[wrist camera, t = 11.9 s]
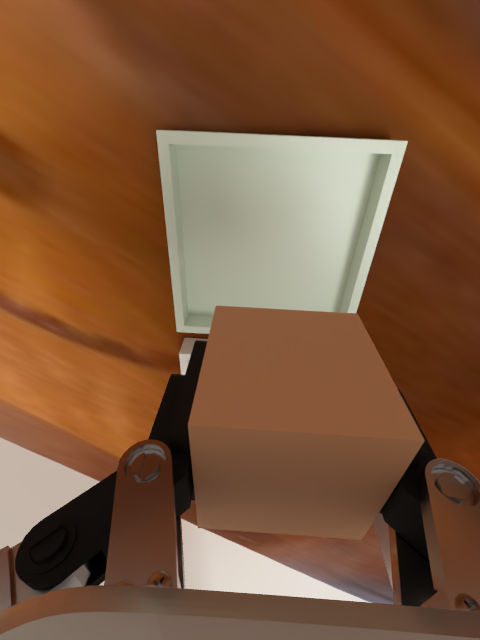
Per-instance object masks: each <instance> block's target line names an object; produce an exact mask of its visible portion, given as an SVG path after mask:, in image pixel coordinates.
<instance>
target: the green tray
mask: <svg viewBox="0 0 480 640" xmlns="http://www.w3.org/2000/svg"><path fill="white" fill-rule="evenodd" d="M156 135H157V144H158V154H159V164H160V174H161V183H162V193H163V203H164V212H165V222H166V232H167V242H168V251H169V261H170V271H171V281H172V290H173V300H174V310H175V320H176V329H177V332H186V333H203V334H209V332H210V328H211V324H212V320H213V315H214V311H215V307H216V306H234V307H251V308H269V309H286V310H304V311H321V312H339V313H356V312H357V308H358V305H359V302H360V299H361V295H362V292H363V289H364V285H365V282H366V279H367V275H368V272H369V269H370V265H371V262H372V259H373V255H374V252H375V249H376V245H377V242H378V239H379V236H380V232H381V229H382V226H383V222H384V219H385V216H386V212H387V209H388V206H389V202H390V199H391V196H392V192H393V189H394V186H395V182H396V179H397V176H398V173H399V169H400V166H401V163H402V159H403V156H404V153H405V149H406V146H407V143H408V141H401V140H390V139H367V138H344V137H321V136H298V135H276V134H253V133H230V132H207V131H184V130H156Z"/></svg>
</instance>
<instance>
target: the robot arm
mask: <svg viewBox="0 0 480 640" xmlns="http://www.w3.org/2000/svg"><path fill="white" fill-rule="evenodd" d="M206 345H207V341H199V340H196V341H195V343H194V346H193V350H192V353H191V356H190V360H189V363H188V367H187V370H186V374H185V375H180V374H172V375H171V376H170V379H169V381H168V384H167V387H166V390H165V393H164V396H163V399H162V402H161V404H160V407H159V410H158V413H157V416H156V419H155V422H154V425H153V427H152V430H151V433H150V436H149V439H148V440H144V441H141V442H138V443H136V444H134V445H133V446H131V447H130V448H129V449H128V450H127V451H126V452H125V453H124V454H123V456H122V457H121V459H120V461H119V465H118V469H117V471H116V472H114V473H113V474H111V475H110V476H108V477H107V478H105V479H104V480H102V481H101V482H99V483H98V484H96V485H95V486H93V487H92V488H90V489H89V490H87V491H86V492H84V493H82V494H81V495H79V496H78V497H76V498H75V499H73V500H72V501H70V502H69V503H67V504H66V505H64V506H63V507H61V508H60V509H58V510H57V511H55V512H54V513H52V514H50V515H49V516H47V517H46V518H44V519H43V520H42V521H40V522H39V523H38V524H37V525H35V526H34V527H33V528H32V529H31V530H30V532H29V533H28V534H27V535H26V536H25V538H24V539H23V541H22V542H21V543H19V544H17V545H15V546H14V547H12V548H10V547H9V546H6V547H4V548H3V549H1V550H0V640H480V483H479V481H478V480H477V479H476V478H475V477H474V476H473V475H472V474H471V473H470V472H469V471H468V470H467V469H465V468H463V467H462V466H460V465H459V464H457V463H454V462H452V461H449V460H445V459H437V458H436V456H435V454H434V452H433V450H432V449H431V447H430V445H429V443H428V441H427V439H426V437H425V436H424V434H423V432H422V430H421V428H420V426H419V424H418V423H417V421H416V419H415V417H414V415H413V413H412V411H411V410H410V408H409V406H408V404H407V402H406V400H405V398H404V396H403V395H402V393H401V392H400V390H399V389H398V391H399V393H400V395H401V397H402V398H403V400H404V402H405V404H406V406H407V408H408V410H409V412H410V414H411V415H412V417H413V419H414V421H415V423H416V425H417V427H418V429H419V431H420V432H421V434H422V436H423V438H424V440H425V441H424V443H423V444H422V446H421V448H420V449H419V451H418V452H417V454H416V455H415V457H414V459H413V460H412V462H411V463H410V465H409V466H408V468H407V470H406V471H405V473H404V474H403V476H402V477H401V479H400V481H399V482H398V484H397V485H396V487H395V488H394V490H393V492H392V493H391V495H390V496H389V498H388V499H387V501H386V503H385V504H384V506H383V507H382V509H381V510H380V512H379V513H378V515H377V517H376V518H375V520H374V521H373V524H374V527H375V531H376V534H377V538H378V541H379V545H380V548H381V551H382V555H383V558H384V562H385V565H386V569H387V572H388V576H389V579H390V582H391V586H392V589H393V599H394V605H391V604H379V603H366V602H353V601H340V600H328V599H327V600H326V599H314V598H302V597H289V596H276V595H263V594H248V593H235V592H220V591H208V590H207V591H206V590H194V589H185V577H184V561H183V546H182V545H183V544H182V527H181V515H182V514H183V513H184V512H185V511H186V510H187V509H189V508H190V504H191V500H195V492H194V482H193V472H192V462H191V452H190V442H189V432H188V422H189V418H190V414H191V409H192V405H193V401H194V397H195V392H196V388H197V384H198V379H199V375H200V371H201V367H202V362H203V358H204V354H205V350H206ZM104 580H105V583H104V586H98V585H100V583H102V582H103V581H104Z"/></svg>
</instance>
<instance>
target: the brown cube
mask: <svg viewBox="0 0 480 640" xmlns="http://www.w3.org/2000/svg"><path fill="white" fill-rule="evenodd" d="M188 432H189V442H190V452H191V462H192V472H193V482H194V492H195V502H196V513H197V523H198V528H206V529H220V530H233V531H247V532H260V533H274V534H287V535H300V536H314V537H327V538H341V539H354V540H362V539H363V537H364V535H365V534H366V532H367V531H368V529H369V528H370V526H371V524H372V523H373V521H374V520H375V518H376V517H377V515H378V513H379V512H380V510H381V509H382V507H383V506H384V504H385V503H386V501H387V499H388V498H389V496H390V495H391V493H392V492H393V490H394V488H395V487H396V485H397V484H398V482H399V481H400V479H401V477H402V476H403V474H404V473H405V471H406V470H407V468H408V466H409V465H410V463H411V462H412V460H413V459H414V457H415V455H416V454H417V452H418V451H419V449H420V448H421V446H422V444H423V443H424V441H425V440H424V438H423V436H422V434H421V432H420V431H419V429H418V427H417V425H416V423H415V421H414V419H413V417H412V415H411V414H410V412H409V410H408V408H407V406H406V404H405V402H404V400H403V398H402V397H401V395H400V393H399V391H398V389H397V387H396V385H395V383H394V382H393V380H392V378H391V376H390V374H389V372H388V370H387V368H386V366H385V365H384V363H383V361H382V359H381V357H380V355H379V353H378V351H377V350H376V348H375V346H374V344H373V342H372V340H371V338H370V336H369V334H368V333H367V331H366V329H365V327H364V325H363V323H362V321H361V319H360V317H359V316H358V314H357V313H339V312H321V311H304V310H286V309H269V308H251V307H234V306H216V307H215V311H214V315H213V320H212V324H211V328H210V332H209V337H208V341H207V345H206V350H205V354H204V358H203V362H202V367H201V371H200V375H199V379H198V384H197V388H196V392H195V397H194V401H193V405H192V409H191V414H190V418H189V422H188Z"/></svg>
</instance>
